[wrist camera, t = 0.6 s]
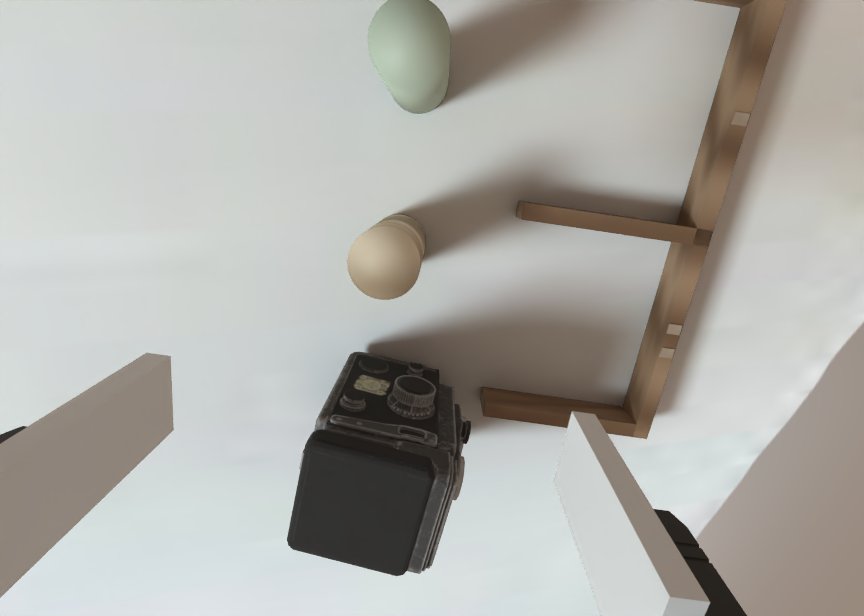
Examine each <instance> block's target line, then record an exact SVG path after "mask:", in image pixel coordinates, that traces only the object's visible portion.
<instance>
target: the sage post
mask: <svg viewBox="0 0 864 616" xmlns="http://www.w3.org/2000/svg"><path fill="white" fill-rule="evenodd" d="M450 49H451V36H450V30H449V26H448V23H447V21H446V19H445V17H444V15H443V13H442V12H441V11H440V9H439V8H438V7H437V6H436V5H435V4H433V3H432V2H431V1H429V0H388V1H387V2H386V3H384V4H383V5H382V6H381V7H380V8H379V10H378V11H377V12H376V14H375V15H374V17H373V19H372V21H371V24H370V27H369V32H368V50H369V55H370V58H371V61H372V63H373V65H374V67H375V68H376V70H377V72H378V73H379V75H380V77H381V78H382V80H383V81H384V83H385V85H386V86H387V88H388V90H389V91H390V93H391V95H392V96H393V98H394V100H395V101H396V102H397V104H398V105H399V106H400V107H402V108H403V109H404V110H406V111H408V112H411V113H416V114H422V113H427V112H430V111H432V110H433V109H435V108H436V107H437V106H438V105H439V104H440V103H441V102H442V101H443V99H444V97H445V95H446V92H447V89H448V80H449V64H450Z"/></svg>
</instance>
